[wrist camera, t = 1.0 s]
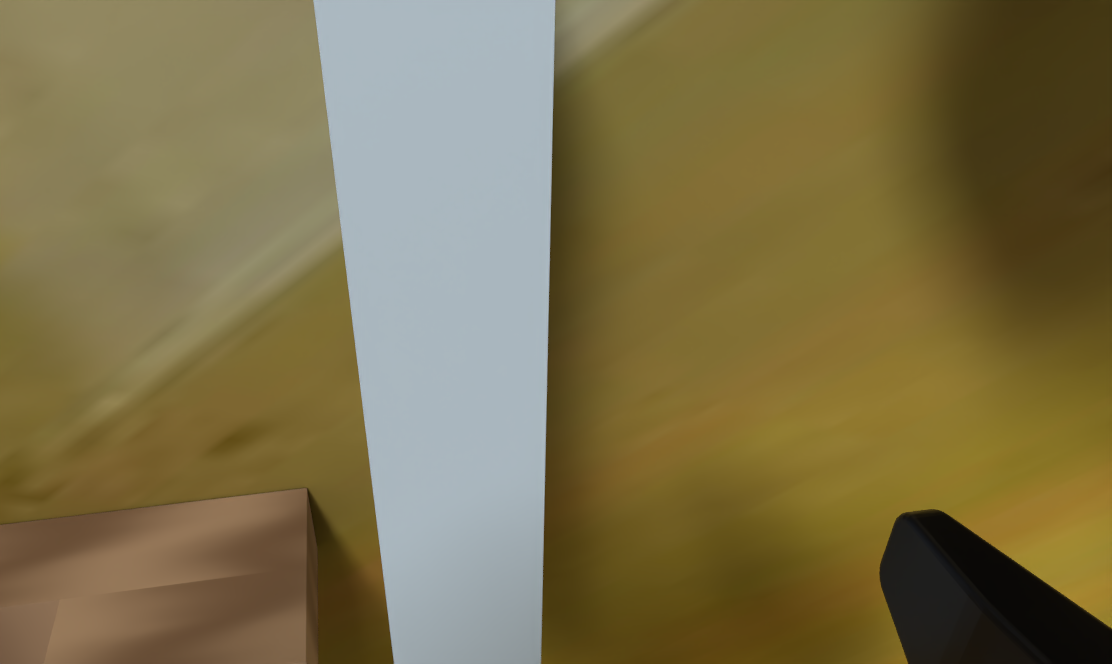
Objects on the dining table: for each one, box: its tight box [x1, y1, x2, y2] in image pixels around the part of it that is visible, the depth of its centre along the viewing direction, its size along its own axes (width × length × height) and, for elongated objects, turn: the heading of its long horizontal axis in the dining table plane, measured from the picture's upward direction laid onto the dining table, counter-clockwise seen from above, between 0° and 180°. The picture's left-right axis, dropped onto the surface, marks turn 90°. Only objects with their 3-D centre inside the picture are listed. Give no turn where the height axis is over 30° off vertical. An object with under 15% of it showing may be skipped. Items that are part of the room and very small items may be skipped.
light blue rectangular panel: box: [314, 0, 555, 664], centre depth 15 cm, size 14×2×9 cm, turn 179°
